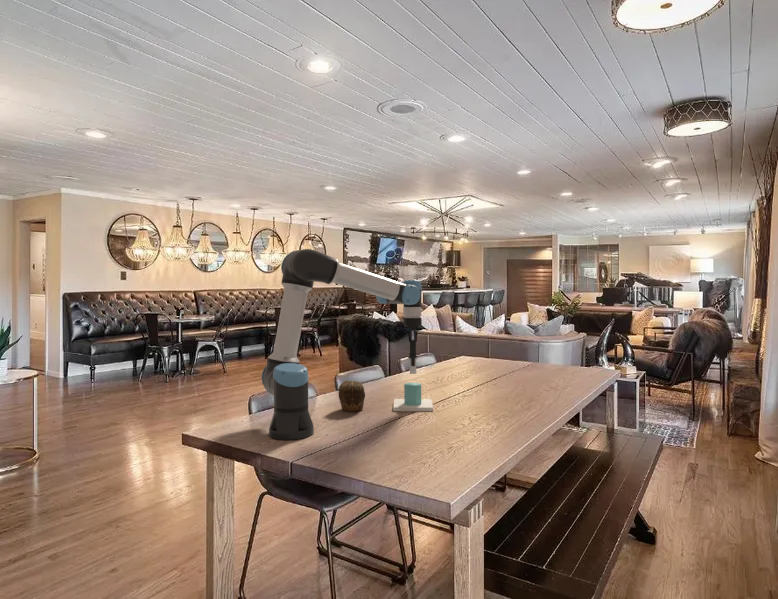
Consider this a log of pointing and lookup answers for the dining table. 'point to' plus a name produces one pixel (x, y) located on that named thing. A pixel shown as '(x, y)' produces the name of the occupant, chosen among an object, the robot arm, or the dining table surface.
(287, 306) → the robot arm
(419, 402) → the teal cylinder
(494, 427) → the dining table surface
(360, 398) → the brown domed block
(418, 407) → the post board
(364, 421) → the dining table surface
